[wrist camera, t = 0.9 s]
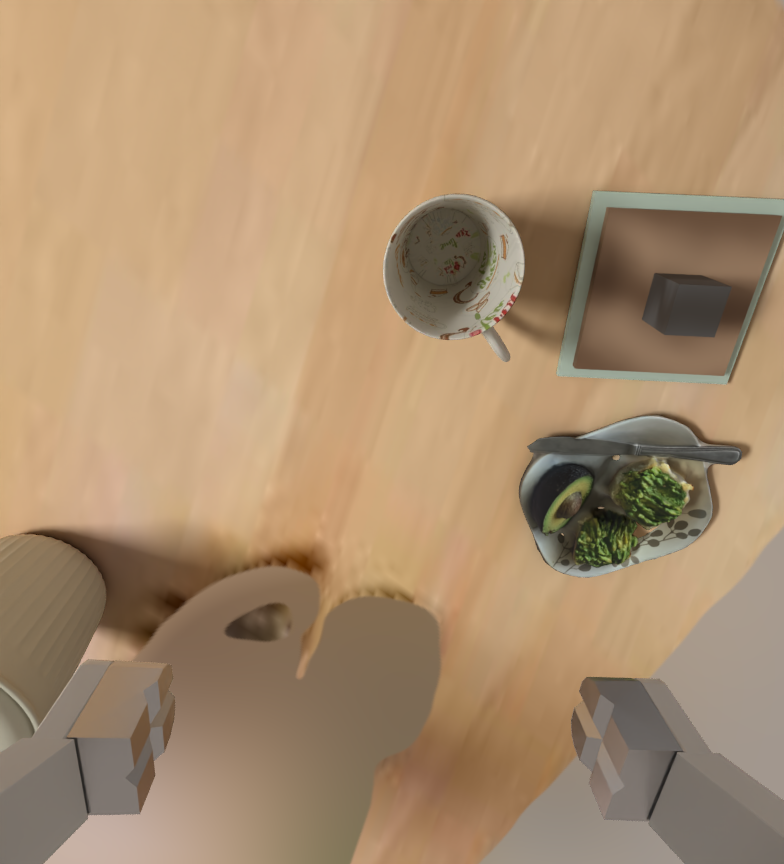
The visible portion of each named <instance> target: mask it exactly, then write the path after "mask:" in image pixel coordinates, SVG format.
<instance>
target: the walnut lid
mask: <svg viewBox="0 0 784 864" xmlns="http://www.w3.org/2000/svg"><path fill="white" fill-rule="evenodd" d="M781 218H782V216H780V215H769V214H747V213H725V212H703V211H681V210H660V209H638V208H616V207H607V208H606V212H605V217H604V222H603V226H602V231H601V235H600V240H599V245H598V249H597V254H596V259H595V263H594V268H593V273H592V277H591V282H590V286H589V291H588V296H587V300H586V305H585V310H584V314H583V319H582V323H581V328H580V333H579V337H578V342H577V347H576V351H575V356H574V360H573V367H574V368H575V369H590V370H611V371H631V372H651V373H671V374H692V375H712V376H724V374H725V372H726V369H727V366H728V363H729V361H730V358H731V355H732V352H733V350H734V347H735V344H736V342H737V339H738V336H739V333H740V331H741V328H742V325H743V322H744V320H745V317H746V314H747V311H748V309H749V306H750V303H751V301H752V298H753V295H754V292H755V290H756V287H757V284H758V281H759V279H760V276H761V273H762V270H763V268H764V265H765V262H766V259H767V257H768V254H769V251H770V249H771V246H772V243H773V240H774V238H775V235H776V232H777V229H778V227H779V224H780V221H781Z"/></svg>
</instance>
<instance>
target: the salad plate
mask: <svg viewBox="0 0 784 864" xmlns="http://www.w3.org/2000/svg"><path fill="white" fill-rule="evenodd" d="M527 447H528V449H529V450H530V452H533V453H534V455H533V458H532V460H531V462H530V463H529V465H528V466H527V468H526V470H525V472H524V474H523V477H522V479H521V482H520V486H519V498H520V503H521V507H522V510H523V513H524V515H525V517H526V520H527V522H528V524H529V527H530V529H531V531H532V533H533V536H534V539H535V542H536V545H537V549H538V550H539V552H540V553H541V555H542V557H543V559H544V561H545V562H546V563H547V564H548V565H549V566H551V567H552V568H553V569H555V570H556V571H559V572H561V573H563V574H567V575H571V576H576V577H595V576H600V575H603V574H607V573H610V572H613V571H616V570H619V569H622V568H625V567H628V566H631V565H634V564H638V563H641V562H643V561H647V560H651V559H656V558H658V557H661V556H665V555H668V554H671V553H673V552H676V551H679V550H682V549H684V548H685V547H687V546H689V545H690V544H691V543H692V542H694V541H695V540H696V539H697V538H698V537H699V536H700V535H701V533H702V532H703V531H704V529H705V528H706V526H707V525H708V523H709V521H710V519H711V517H712V511H713V505H712V499H711V493H710V487H709V483H708V479H707V469H708V467H709V466H710V465H712V464H724V465H733V464H735V463H737V462H738V461H739V460H740V459H741V456H742V451H741V450H740V449H739V448H737V447H735V446H727V445H713V444H706V443H704V442H702V441H700V440H699V439H698V438H697V436H695V434H694V433H693V432H692V430H690V428H689V427H687V426H686V425H683V424H681V423H679V422H677V421H674V420H672V419H669V418H665V417H663V416H660V415H650V416H640V417H636V418H630V419H626V420H623V421H620V422H616V423H613V424H611V425H608V426H606V427H603V428H601V429H597V430H595V431H592V432H589V433H587V434H584V435H580V436H576V437H549V438H540V439H538V440H536V441H535V442H534V443H532V444H530V445H529V446H527ZM614 455H619V456H620V458H619V460H613V459H612V456H614ZM598 507H604V509H598ZM635 521H636V522H638V523H639V524H640V525H641V526H642V527H643V528H644V529H646V530H650V529H651V528H653V527H657V526H658V527H657V528H656V529H654V530H653V531H651V532H650V533H648V534H647V535H645V536H643V537H640V538H638V539H637V537H635V536H633V532H634V530H635V529H636V528H637V524H636V522H635ZM561 533H563V534H564V536H563V535H562V534H561Z"/></svg>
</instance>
